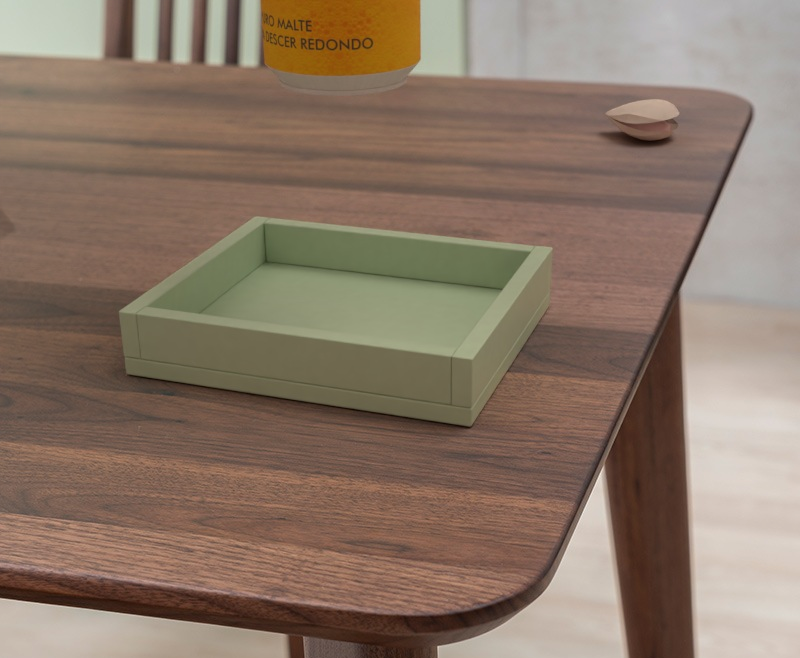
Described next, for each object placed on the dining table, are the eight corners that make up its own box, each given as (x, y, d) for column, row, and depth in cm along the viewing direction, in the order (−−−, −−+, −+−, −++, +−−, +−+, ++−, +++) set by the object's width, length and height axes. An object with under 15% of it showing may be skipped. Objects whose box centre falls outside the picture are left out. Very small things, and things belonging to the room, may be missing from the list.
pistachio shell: (660, 149, 81) (664, 110, 79) (590, 138, 83) (592, 100, 82) (686, 134, 84) (690, 96, 83) (618, 125, 86) (620, 88, 85)
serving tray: (125, 374, 51) (117, 310, 50) (258, 270, 62) (255, 215, 60) (471, 427, 46) (472, 359, 45) (550, 305, 57) (553, 247, 56)
